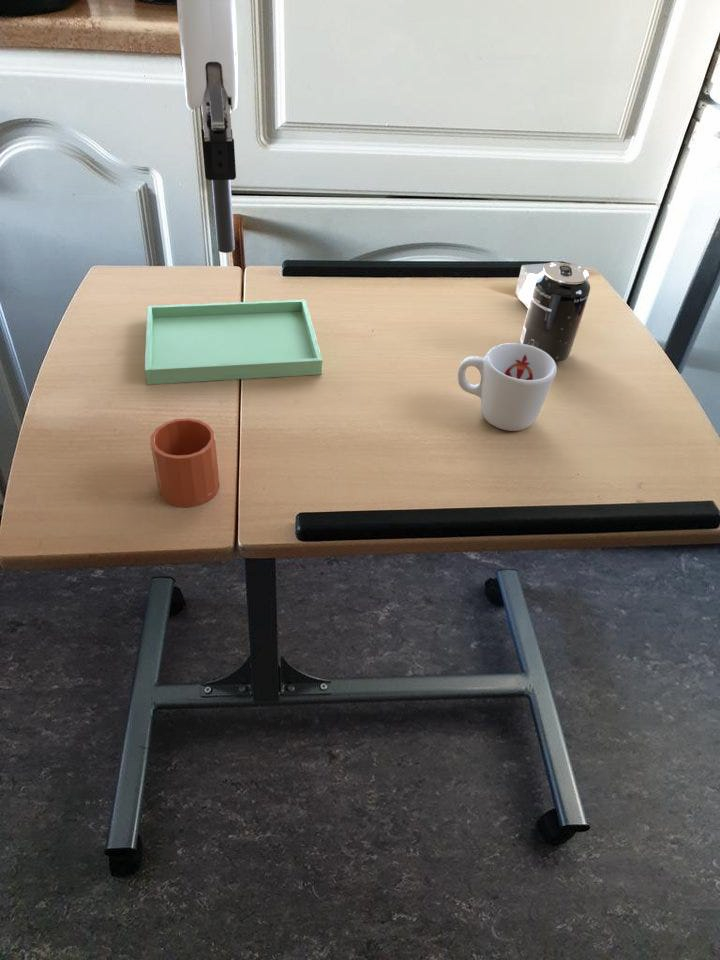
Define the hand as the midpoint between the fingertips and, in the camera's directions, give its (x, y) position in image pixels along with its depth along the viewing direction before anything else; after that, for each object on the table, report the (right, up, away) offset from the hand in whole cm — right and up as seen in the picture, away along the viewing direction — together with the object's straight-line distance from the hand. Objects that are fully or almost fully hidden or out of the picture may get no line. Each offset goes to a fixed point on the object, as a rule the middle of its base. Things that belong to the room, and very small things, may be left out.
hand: (220, 172), depth 76 cm
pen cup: (-2, -34, -4) cm, 34 cm away
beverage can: (+40, -17, +19) cm, 47 cm away
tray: (-2, -16, +16) cm, 22 cm away
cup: (+31, -26, +8) cm, 41 cm away
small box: (+42, -7, +30) cm, 52 cm away
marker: (-1, -6, +6) cm, 9 cm away
